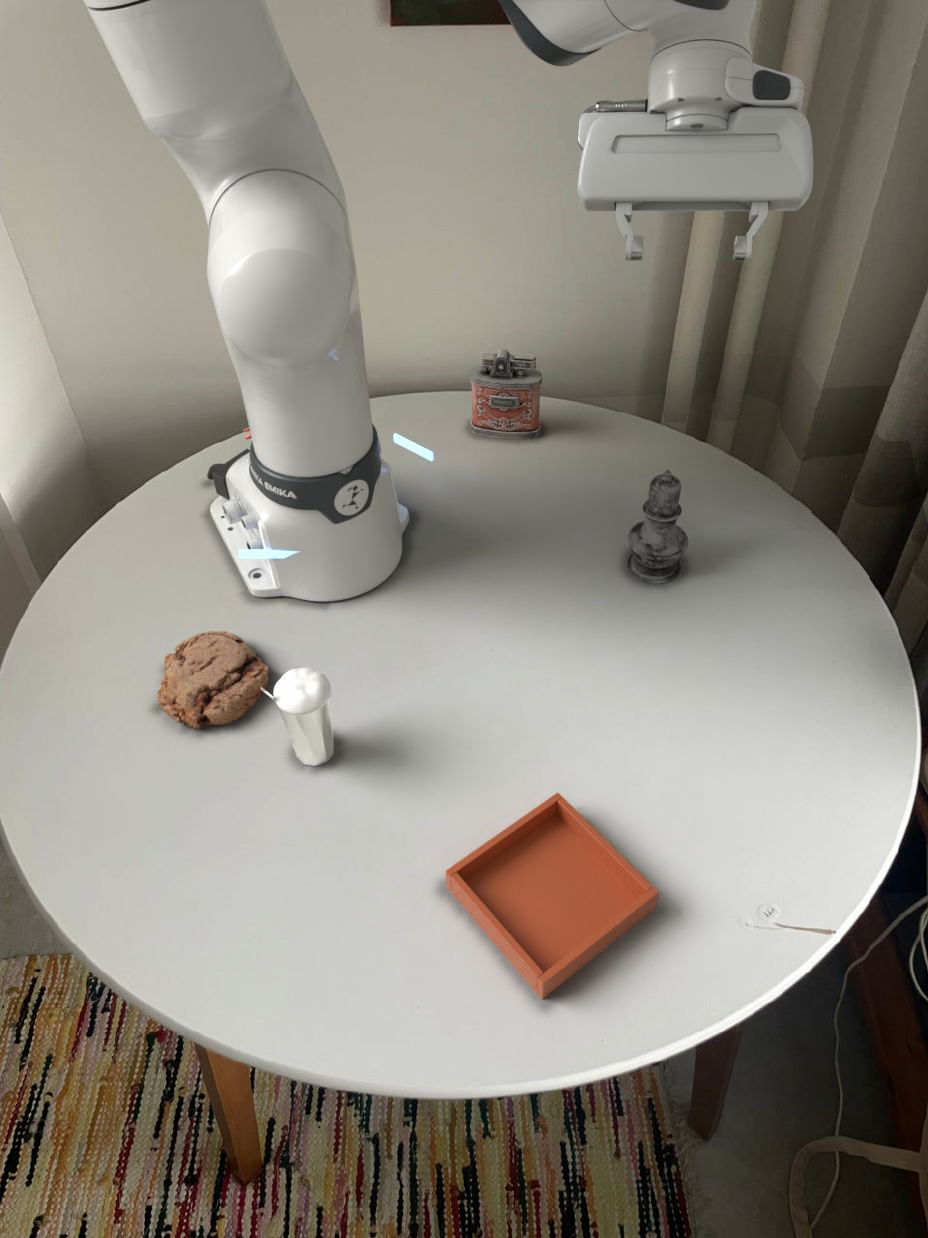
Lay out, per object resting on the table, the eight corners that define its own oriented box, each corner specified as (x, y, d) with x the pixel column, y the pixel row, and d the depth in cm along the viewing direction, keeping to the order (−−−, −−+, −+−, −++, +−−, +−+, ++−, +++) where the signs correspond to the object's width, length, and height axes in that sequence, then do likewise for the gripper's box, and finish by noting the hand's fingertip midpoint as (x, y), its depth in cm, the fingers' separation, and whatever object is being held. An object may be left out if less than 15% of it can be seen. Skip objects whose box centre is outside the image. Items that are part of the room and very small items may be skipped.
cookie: (242, 628, 98) (236, 606, 96) (286, 702, 92) (281, 680, 89) (141, 669, 95) (133, 647, 93) (180, 749, 88) (171, 727, 86)
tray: (446, 887, 79) (445, 870, 77) (556, 809, 83) (557, 791, 81) (542, 999, 72) (543, 984, 71) (655, 908, 77) (659, 892, 75)
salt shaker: (681, 589, 100) (699, 493, 91) (621, 582, 101) (632, 486, 92) (685, 549, 104) (702, 453, 95) (627, 542, 105) (638, 447, 96)
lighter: (468, 435, 118) (466, 359, 111) (473, 418, 120) (471, 342, 113) (538, 441, 117) (541, 364, 110) (541, 423, 119) (544, 347, 112)
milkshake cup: (273, 743, 89) (252, 667, 81) (332, 722, 90) (317, 646, 83) (288, 783, 86) (268, 708, 78) (349, 761, 87) (335, 685, 80)
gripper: (577, 84, 89) (568, 247, 90) (823, 79, 86) (811, 249, 87) (581, 115, 95) (572, 268, 96) (810, 112, 92) (799, 269, 93)
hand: (687, 259), depth 91 cm, fingers open, 8 cm apart
